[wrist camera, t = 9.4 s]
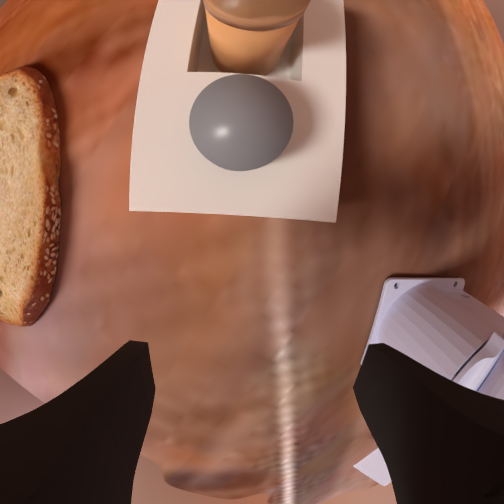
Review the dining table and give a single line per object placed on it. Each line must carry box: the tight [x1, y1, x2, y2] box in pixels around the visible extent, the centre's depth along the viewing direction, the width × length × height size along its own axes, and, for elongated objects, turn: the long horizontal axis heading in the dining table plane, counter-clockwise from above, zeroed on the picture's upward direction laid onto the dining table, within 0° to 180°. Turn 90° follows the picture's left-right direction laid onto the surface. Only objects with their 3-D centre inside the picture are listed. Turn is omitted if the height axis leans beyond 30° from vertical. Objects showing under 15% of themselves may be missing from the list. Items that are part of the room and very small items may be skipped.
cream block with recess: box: [129, 0, 346, 223], centre depth 11 cm, size 10×14×6 cm
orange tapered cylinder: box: [203, 0, 311, 76], centre depth 9 cm, size 4×4×7 cm
